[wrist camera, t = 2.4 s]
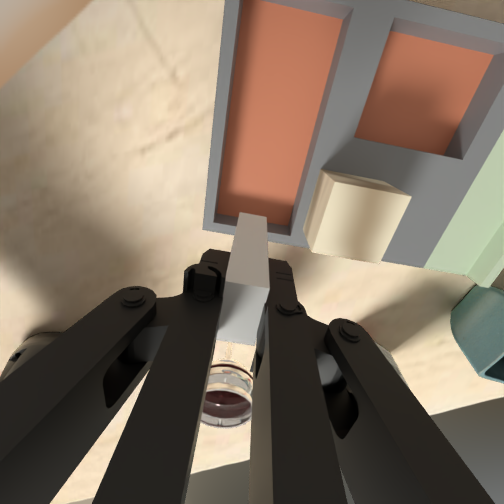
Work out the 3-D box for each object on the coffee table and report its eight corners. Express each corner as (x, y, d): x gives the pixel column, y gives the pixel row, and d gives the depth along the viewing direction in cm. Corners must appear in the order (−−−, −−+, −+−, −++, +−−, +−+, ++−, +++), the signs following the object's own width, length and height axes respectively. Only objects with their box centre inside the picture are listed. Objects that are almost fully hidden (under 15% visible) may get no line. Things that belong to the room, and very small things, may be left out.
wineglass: (200, 330, 37) (177, 416, 27) (221, 297, 34) (205, 379, 24) (241, 347, 39) (235, 435, 28) (265, 317, 36) (268, 403, 25)
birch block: (302, 229, 26) (311, 252, 22) (320, 168, 24) (334, 181, 19) (359, 239, 27) (379, 264, 22) (383, 181, 24) (411, 196, 20)
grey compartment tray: (207, 219, 29) (198, 238, 25) (233, -23, 20) (226, -61, 15) (456, 263, 31) (488, 287, 27) (586, 61, 22) (668, 49, 17)
